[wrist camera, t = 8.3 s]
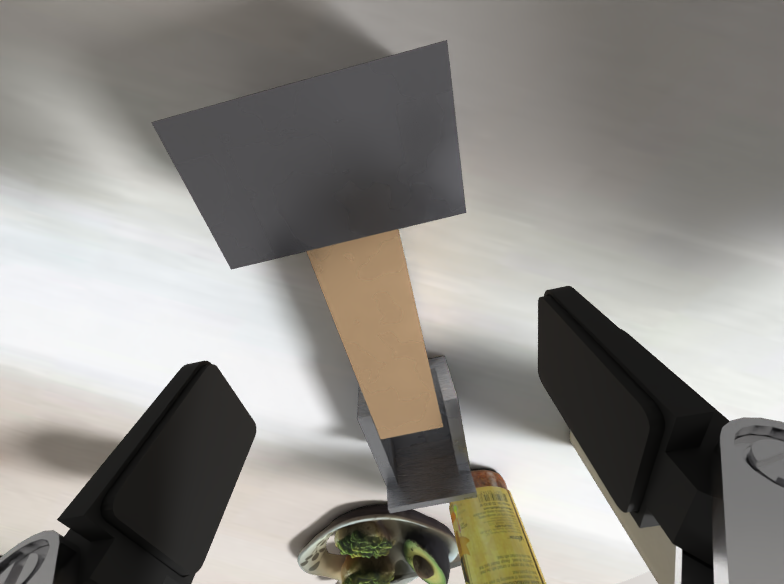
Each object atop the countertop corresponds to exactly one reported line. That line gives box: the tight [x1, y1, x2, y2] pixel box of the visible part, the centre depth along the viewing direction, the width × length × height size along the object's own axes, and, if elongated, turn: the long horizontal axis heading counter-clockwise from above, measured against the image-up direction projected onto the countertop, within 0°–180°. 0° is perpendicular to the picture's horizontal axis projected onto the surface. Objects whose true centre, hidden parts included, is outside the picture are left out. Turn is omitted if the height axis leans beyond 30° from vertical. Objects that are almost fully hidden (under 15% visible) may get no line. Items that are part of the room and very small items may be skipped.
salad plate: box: [298, 505, 461, 584], centre depth 36 cm, size 19×18×5 cm
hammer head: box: [152, 40, 466, 269], centre depth 13 cm, size 9×5×7 cm, turn 103°
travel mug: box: [569, 430, 676, 584], centre depth 20 cm, size 8×8×18 cm
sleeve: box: [357, 356, 477, 513], centre depth 23 cm, size 7×9×6 cm
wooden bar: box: [307, 229, 443, 439], centre depth 17 cm, size 4×17×4 cm, turn 13°
